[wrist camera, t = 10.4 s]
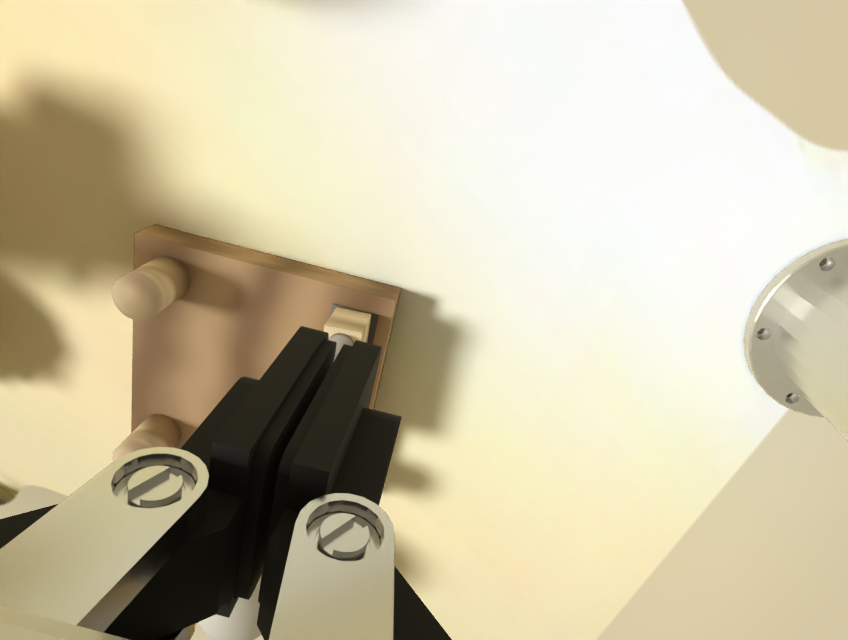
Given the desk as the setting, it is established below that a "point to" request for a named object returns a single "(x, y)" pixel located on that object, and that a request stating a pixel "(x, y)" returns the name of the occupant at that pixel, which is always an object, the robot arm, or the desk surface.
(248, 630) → the lightbulb
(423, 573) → the desk surface
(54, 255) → the desk surface
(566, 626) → the desk surface
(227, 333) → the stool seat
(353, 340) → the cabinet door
